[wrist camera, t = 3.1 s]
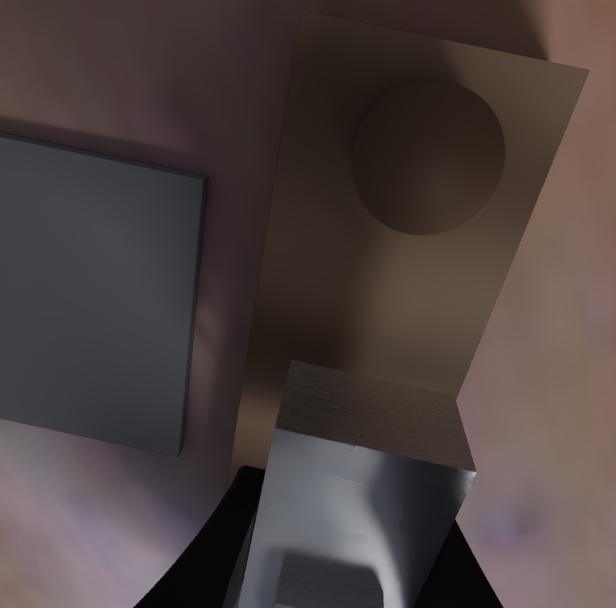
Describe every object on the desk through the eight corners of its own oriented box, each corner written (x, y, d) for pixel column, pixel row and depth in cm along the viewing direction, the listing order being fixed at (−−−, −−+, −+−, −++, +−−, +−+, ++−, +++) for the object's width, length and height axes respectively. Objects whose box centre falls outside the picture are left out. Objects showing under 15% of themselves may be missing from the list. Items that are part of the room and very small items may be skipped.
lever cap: (380, 579, 15) (385, 706, 12) (251, 550, 15) (223, 671, 12) (454, 395, 12) (486, 505, 9) (291, 359, 12) (267, 457, 9)
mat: (182, 447, 21) (178, 456, 21) (-82, 389, 21) (-94, 398, 21) (208, 176, 16) (203, 180, 15) (-144, 101, 16) (-162, 102, 15)
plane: (377, 538, 22) (381, 669, 18) (230, 506, 23) (194, 627, 18) (552, 70, 14) (660, 69, 9) (310, 19, 14) (282, -11, 9)
